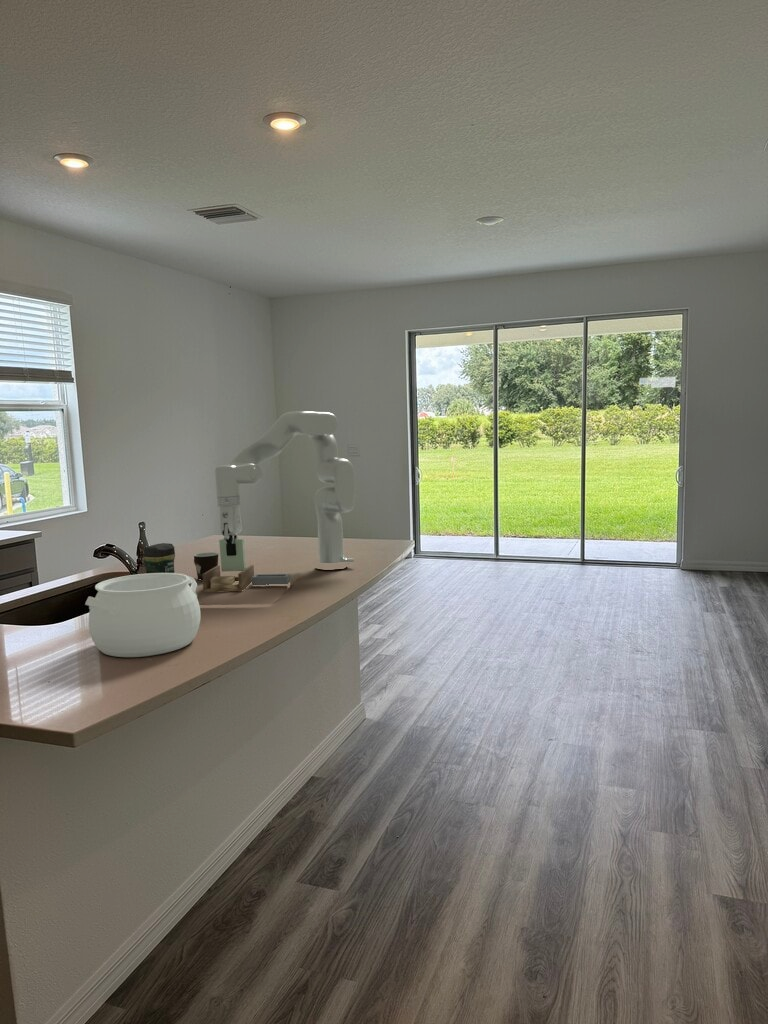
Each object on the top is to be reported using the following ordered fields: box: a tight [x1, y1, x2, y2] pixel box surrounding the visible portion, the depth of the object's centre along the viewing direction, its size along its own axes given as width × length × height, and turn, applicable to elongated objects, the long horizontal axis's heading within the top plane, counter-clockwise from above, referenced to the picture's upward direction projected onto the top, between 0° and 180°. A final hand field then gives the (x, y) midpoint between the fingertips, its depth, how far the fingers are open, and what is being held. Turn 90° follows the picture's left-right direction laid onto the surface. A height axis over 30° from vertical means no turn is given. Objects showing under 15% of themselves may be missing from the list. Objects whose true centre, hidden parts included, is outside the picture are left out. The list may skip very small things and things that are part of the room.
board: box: [219, 537, 247, 572], centre depth 239 cm, size 8×2×11 cm, turn 85°
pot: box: [84, 573, 201, 658], centre depth 174 cm, size 29×26×16 cm
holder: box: [251, 573, 291, 586], centre depth 237 cm, size 12×6×4 cm, turn 85°
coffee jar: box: [143, 542, 176, 574], centre depth 221 cm, size 10×8×19 cm
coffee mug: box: [193, 551, 220, 580], centre depth 252 cm, size 12×9×10 cm
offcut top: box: [211, 575, 236, 585], centre depth 232 cm, size 7×4×2 cm, turn 90°
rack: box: [202, 564, 255, 593], centre depth 236 cm, size 13×15×7 cm
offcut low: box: [211, 582, 239, 588], centre depth 233 cm, size 9×4×2 cm, turn 85°
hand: (232, 554), depth 239 cm, fingers closed on board, 2 cm apart
